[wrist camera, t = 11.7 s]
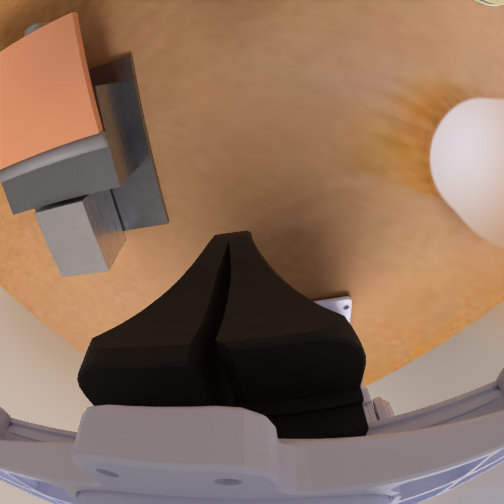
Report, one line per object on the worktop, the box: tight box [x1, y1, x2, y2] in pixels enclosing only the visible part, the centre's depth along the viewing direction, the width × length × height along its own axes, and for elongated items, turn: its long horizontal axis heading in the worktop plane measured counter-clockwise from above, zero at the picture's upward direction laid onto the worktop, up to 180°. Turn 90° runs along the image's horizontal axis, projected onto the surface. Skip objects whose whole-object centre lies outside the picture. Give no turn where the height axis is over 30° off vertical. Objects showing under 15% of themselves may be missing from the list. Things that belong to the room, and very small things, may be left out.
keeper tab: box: [0, 12, 109, 183], centre depth 13 cm, size 8×9×1 cm
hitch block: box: [2, 56, 169, 231], centre depth 18 cm, size 12×11×4 cm
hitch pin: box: [24, 22, 126, 277], centre depth 16 cm, size 17×4×4 cm, turn 7°
